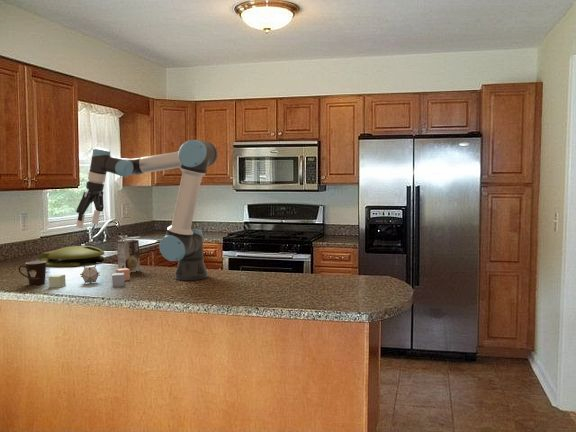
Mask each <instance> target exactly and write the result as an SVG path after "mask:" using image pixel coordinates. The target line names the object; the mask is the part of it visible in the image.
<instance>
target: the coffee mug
mask: <svg viewBox="0 0 576 432" xmlns="http://www.w3.org/2000/svg"><path fill="white" fill-rule="evenodd" d="M21 268H25V269H26V273H27V275H26V274H24V273H23V272H21ZM17 270H18V272H19V273H20V274H21V275H22V276H23V277H25V278H26V279H28V284H29V286H32V285H35V286H41V285H40V284H42V285H45V284H46V272H47V267H46V261H40V260H37V261H36V260H35V261H28V262H25V265H23V264H22V265H20V266H19V267H18V269H17ZM44 283H45V284H44Z"/></svg>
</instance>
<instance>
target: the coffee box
mask: <svg viewBox="0 0 576 432" xmlns="http://www.w3.org/2000/svg"><path fill="white" fill-rule="evenodd" d="M116 248H117V249H116V250H117V269H122V268H128V269H130V274H131V272H132V273H136V271H137V272H141V261H140V242H139V240H138V239H125V240H124V239H123V240H118V241H116Z"/></svg>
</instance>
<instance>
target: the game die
mask: <svg viewBox="0 0 576 432" xmlns="http://www.w3.org/2000/svg"><path fill="white" fill-rule="evenodd" d="M96 267H97V265H94V266H83V270H82V272H81V273H79V275H80V278H82V279H83V281H84V285H86V284H89V283H95V284H97V283H98V282H97V280H98V277H100V276H101V275H100V272H99V271H98V269H97V268H96Z"/></svg>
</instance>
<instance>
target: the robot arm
mask: <svg viewBox="0 0 576 432" xmlns="http://www.w3.org/2000/svg"><path fill="white" fill-rule="evenodd" d="M218 156H219V155H218V150H217V147H216V146H215V144H213V143H212V142H209V141H204V140H199V139H189V140H186V141H184V142H183V143H182V144H181V146H180V147H179V149H178V151H174V152H168V153H162V154H161V153H160V154H155V155H149V156H141V157H136V158H122V157H116V156H113V155H111V150H109V149H106V148H102V147H101V148H100V147H95V148H94V149H93V151H92V156H91V160H90V167H89V171H88V176H87V182H86V186H85V188H86V189H87V191H84V192H83V193H82V197H81V199H80V202H79V204H78V206H77V207H76V210H75V212H76V213H77V214H78V216H77V221H76V228H80V229H83V227H84V222H85V218H86V217H85V216H86V214H85V213H86V211H87V210H88V208H90V207H89V206H90V205H91V204H92V203H93V205H94V207H95V208H94V211H93V216H92V221H91V224H93V225H97V226H98V225H99V219H100V217H101V216H100V214H101V212H103V211H104V209H105V207H104V186H105V182H106V177H107V173H110V174H114V175H118V176H119V177H125V178H127V177H130V176H133V175H134V176H139V175H143V174H146V173H152V172H153V173H154V172H160V171H161V172H162V171H167V170H173V169H179V170H180V171H181V172H182V173H181V178H180V183H179V187H178V192H177V198H176V202H175V207H174V212H173V216H172V220H171V221H172V222H171V225H169V226H168V227H167V228H166V233H165V236H163V237H162V238H161V240H160V242H159V246H158V248H159V252H160V253H161V255H162V257H163V258H164V259H166V260H167V261H170V262H178V263H177V266H176V270H175V272H174V279H175V280H177V281H197V280H198V281H199V280H203V279H207V278H208V270H207V268H206V264H205V262H204V261H205V260H204V241H203V240H204V236H203V230H201V229H200V228H199V229H198V228H197V229H196V228H195V229H194V228H193V229H192V224H193V219H194V214H195V210H196V207H197V206H196V205H197V201H198V198H199V197H198V196H199V192H200V187H201V182H202V178H203V176H205V175H207V172H208V168H209V167H212V166H213V165H214V164H216V162H217V159H218Z"/></svg>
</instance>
